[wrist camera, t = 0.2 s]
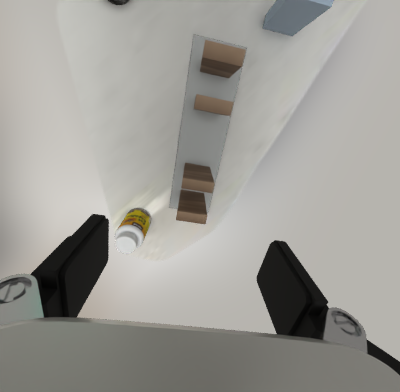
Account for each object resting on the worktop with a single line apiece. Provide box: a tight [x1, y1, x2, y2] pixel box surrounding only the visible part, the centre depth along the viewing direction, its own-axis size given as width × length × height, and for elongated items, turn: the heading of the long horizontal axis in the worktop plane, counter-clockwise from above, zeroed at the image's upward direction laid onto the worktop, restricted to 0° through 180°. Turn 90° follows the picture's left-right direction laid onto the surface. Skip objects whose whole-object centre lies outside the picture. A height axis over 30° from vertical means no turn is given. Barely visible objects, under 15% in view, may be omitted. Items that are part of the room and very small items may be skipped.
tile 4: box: [181, 163, 215, 193], centre depth 36 cm, size 2×5×10 cm, turn 79°
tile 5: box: [176, 189, 207, 224], centre depth 38 cm, size 2×5×10 cm, turn 79°
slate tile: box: [263, 0, 334, 36], centre depth 27 cm, size 2×5×10 cm, turn 79°
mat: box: [169, 34, 247, 213], centre depth 38 cm, size 32×9×1 cm, turn 169°
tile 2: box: [194, 94, 234, 116], centre depth 31 cm, size 2×5×10 cm, turn 79°
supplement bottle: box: [115, 208, 151, 254], centre depth 40 cm, size 6×6×10 cm
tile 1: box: [200, 40, 246, 78], centre depth 29 cm, size 2×5×10 cm, turn 79°
